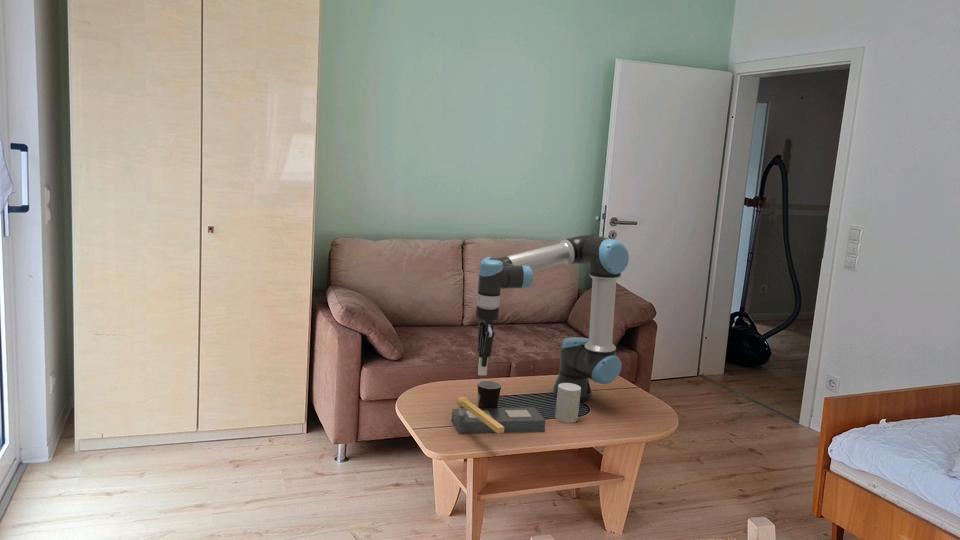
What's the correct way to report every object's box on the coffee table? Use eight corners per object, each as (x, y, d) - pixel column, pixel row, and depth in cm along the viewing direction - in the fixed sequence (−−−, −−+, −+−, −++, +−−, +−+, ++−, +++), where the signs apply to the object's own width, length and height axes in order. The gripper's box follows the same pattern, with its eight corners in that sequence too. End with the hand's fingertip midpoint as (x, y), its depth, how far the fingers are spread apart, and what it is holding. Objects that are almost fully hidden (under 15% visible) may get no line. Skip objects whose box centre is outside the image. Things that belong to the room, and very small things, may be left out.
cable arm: (455, 403, 247) (455, 396, 246) (464, 401, 249) (465, 395, 248) (495, 434, 224) (496, 427, 223) (505, 432, 225) (506, 426, 225)
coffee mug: (496, 416, 259) (499, 390, 257) (473, 413, 260) (475, 386, 258) (502, 405, 270) (504, 380, 268) (479, 402, 271) (481, 376, 270)
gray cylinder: (563, 424, 257) (566, 391, 255) (550, 415, 264) (553, 383, 262) (582, 421, 261) (585, 389, 259) (569, 413, 268) (572, 382, 266)
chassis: (533, 417, 260) (535, 398, 259) (544, 431, 249) (546, 410, 248) (451, 419, 253) (453, 399, 252) (458, 433, 241) (460, 412, 240)
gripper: (472, 301, 247) (467, 368, 251) (481, 311, 234) (475, 381, 239) (493, 302, 249) (488, 368, 253) (504, 311, 236) (497, 381, 241)
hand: (482, 374), depth 246 cm, fingers closed
